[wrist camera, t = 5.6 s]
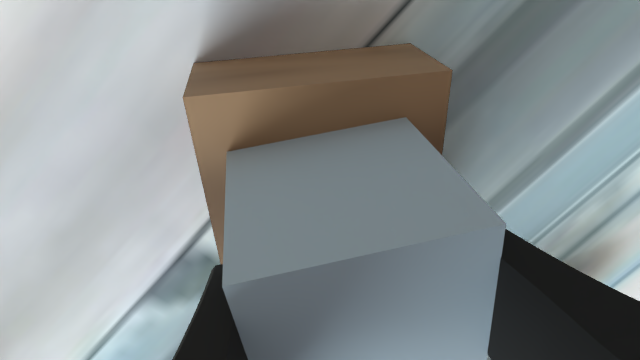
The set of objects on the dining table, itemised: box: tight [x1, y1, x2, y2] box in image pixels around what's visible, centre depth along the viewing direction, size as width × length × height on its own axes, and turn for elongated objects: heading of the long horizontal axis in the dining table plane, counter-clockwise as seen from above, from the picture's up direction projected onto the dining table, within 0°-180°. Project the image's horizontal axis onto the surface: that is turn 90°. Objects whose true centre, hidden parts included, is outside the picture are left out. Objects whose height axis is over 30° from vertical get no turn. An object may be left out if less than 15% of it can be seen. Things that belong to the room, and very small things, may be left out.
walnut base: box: [183, 43, 452, 264], centre depth 14 cm, size 7×7×4 cm
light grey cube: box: [222, 117, 506, 360], centre depth 10 cm, size 5×5×5 cm
